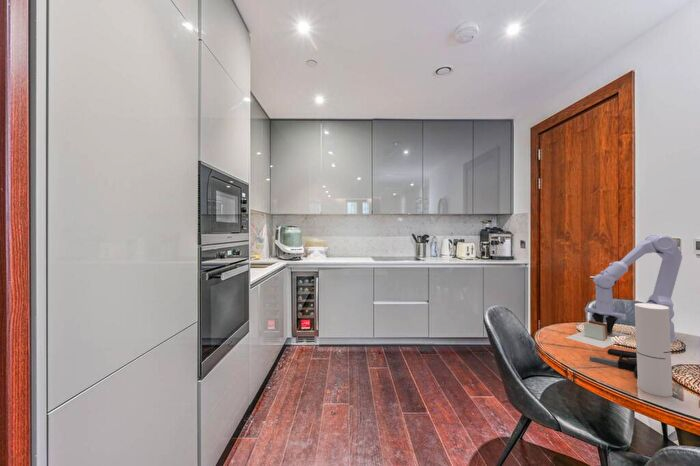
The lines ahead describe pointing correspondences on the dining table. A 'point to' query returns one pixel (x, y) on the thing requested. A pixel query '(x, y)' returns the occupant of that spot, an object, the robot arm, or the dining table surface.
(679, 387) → the dining table surface
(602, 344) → the mat
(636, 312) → the cylindrical container
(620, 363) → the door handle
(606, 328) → the pusher
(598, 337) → the tile
